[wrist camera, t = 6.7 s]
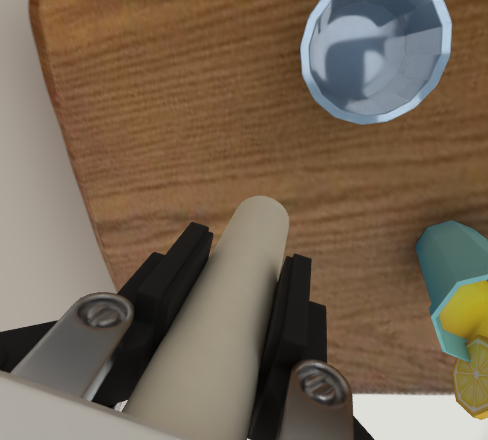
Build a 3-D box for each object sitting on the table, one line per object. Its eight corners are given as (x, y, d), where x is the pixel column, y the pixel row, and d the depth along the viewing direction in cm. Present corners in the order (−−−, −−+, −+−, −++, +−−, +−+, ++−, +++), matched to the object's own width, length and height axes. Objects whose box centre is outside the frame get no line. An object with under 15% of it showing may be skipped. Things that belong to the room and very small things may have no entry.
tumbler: (427, 11, 27) (480, -12, 18) (385, 115, 31) (412, 140, 21) (325, -17, 28) (327, -52, 19) (294, 89, 31) (283, 102, 22)
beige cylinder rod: (297, 204, 16) (197, 799, 3) (281, 254, 17) (155, 851, 4) (240, 186, 16) (-74, 683, 3) (227, 238, 17) (-49, 762, 4)
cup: (412, 160, 31) (482, 237, 18) (516, 161, 30) (678, 245, 16) (392, 301, 37) (435, 444, 23) (480, 308, 35) (579, 463, 22)
